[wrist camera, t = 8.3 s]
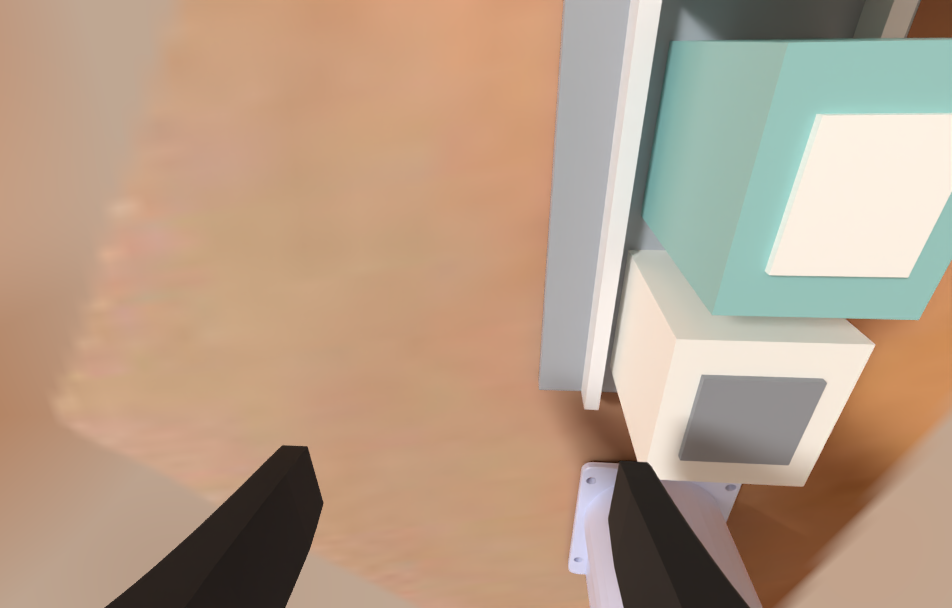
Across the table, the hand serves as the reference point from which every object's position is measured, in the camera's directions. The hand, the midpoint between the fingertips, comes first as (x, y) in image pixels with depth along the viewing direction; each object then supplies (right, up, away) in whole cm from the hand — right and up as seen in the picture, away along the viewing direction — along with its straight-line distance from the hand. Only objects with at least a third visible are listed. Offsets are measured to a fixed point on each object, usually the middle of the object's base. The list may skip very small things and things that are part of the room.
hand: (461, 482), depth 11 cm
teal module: (+9, +10, +4) cm, 14 cm away
